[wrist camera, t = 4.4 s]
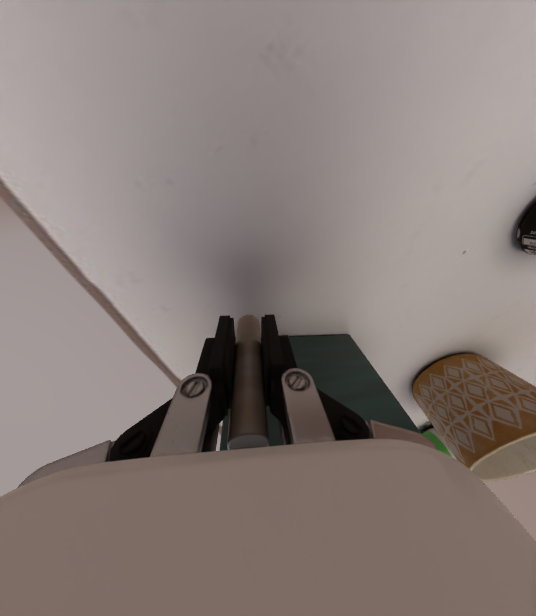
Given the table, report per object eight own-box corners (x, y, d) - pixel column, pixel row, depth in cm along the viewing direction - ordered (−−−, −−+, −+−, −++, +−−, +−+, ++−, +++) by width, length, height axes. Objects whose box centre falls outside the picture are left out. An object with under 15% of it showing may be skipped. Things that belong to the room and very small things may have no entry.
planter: (409, 357, 26) (493, 441, 17) (503, 336, 26) (638, 410, 17) (398, 409, 33) (455, 489, 24) (473, 393, 32) (560, 468, 23)
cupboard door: (227, 283, 18) (128, 695, 3) (365, 281, 20) (764, 574, 4) (232, 345, 22) (198, 664, 7) (347, 340, 24) (527, 603, 8)
